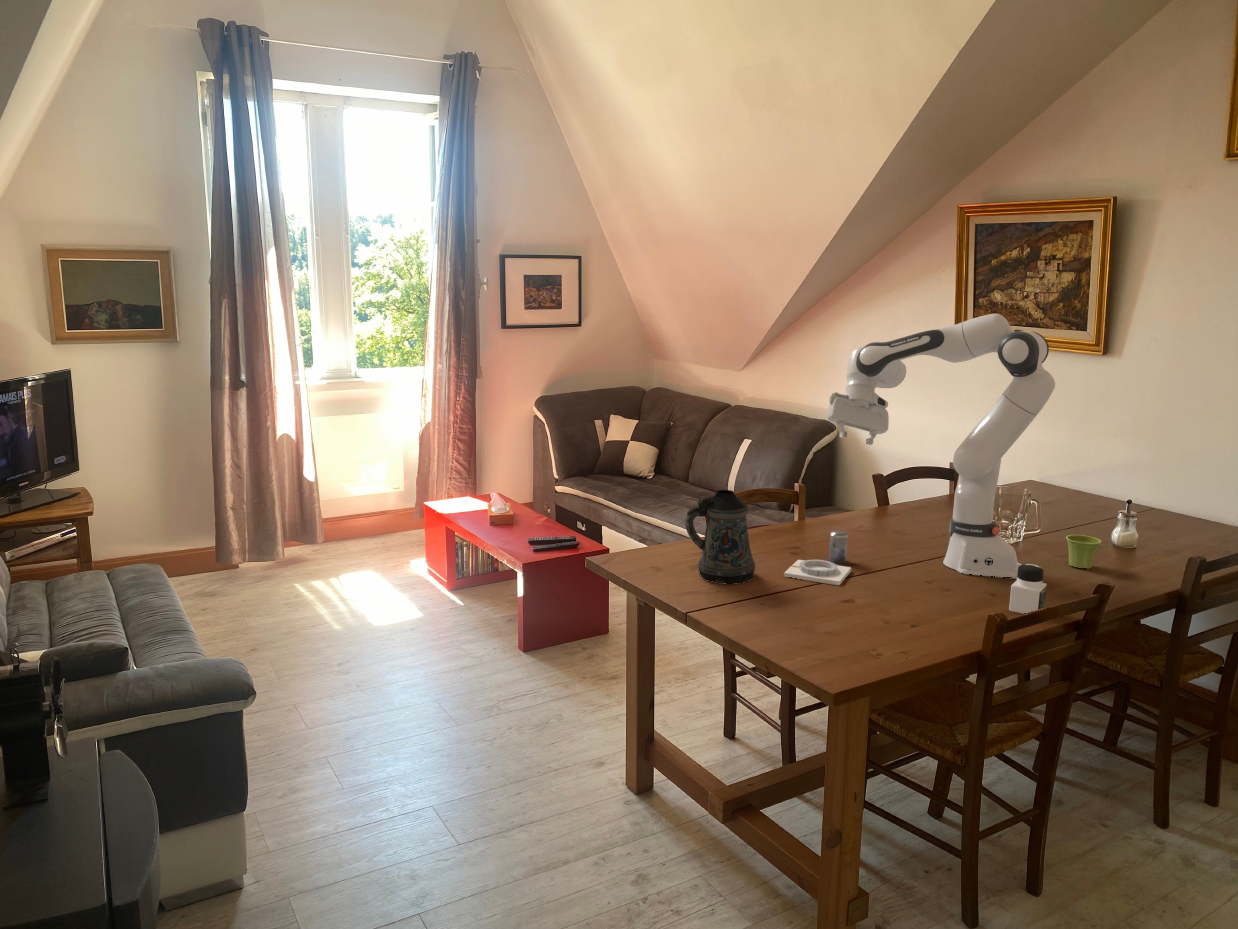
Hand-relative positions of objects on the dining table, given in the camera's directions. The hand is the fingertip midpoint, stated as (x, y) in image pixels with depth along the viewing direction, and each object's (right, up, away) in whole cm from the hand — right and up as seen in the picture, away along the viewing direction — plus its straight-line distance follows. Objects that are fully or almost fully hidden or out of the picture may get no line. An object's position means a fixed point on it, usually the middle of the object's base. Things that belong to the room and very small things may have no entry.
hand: (856, 440), depth 277 cm
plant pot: (+66, -38, -6) cm, 76 cm away
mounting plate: (-15, -39, -14) cm, 44 cm away
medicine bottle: (+33, -45, -42) cm, 70 cm away
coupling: (-6, -37, -2) cm, 37 cm away
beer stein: (-43, -40, -16) cm, 61 cm away
